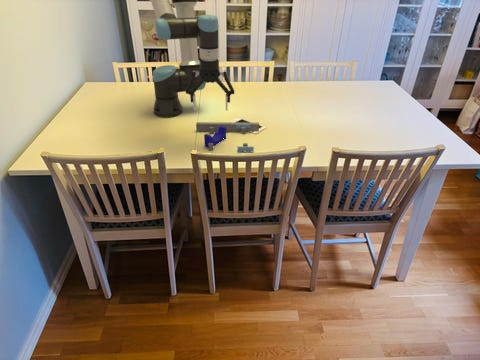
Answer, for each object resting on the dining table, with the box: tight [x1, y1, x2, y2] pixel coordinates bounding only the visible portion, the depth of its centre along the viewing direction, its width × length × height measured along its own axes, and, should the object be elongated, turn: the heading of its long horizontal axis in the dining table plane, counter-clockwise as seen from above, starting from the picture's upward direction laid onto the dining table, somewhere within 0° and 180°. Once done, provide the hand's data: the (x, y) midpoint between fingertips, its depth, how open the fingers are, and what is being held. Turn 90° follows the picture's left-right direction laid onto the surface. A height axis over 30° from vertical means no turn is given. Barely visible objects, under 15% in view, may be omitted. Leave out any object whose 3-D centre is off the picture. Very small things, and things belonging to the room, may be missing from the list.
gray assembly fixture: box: [195, 121, 260, 153], centre depth 153 cm, size 30×22×4 cm
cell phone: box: [229, 117, 267, 135], centre depth 168 cm, size 9×18×1 cm, turn 51°
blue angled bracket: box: [203, 126, 227, 149], centre depth 151 cm, size 12×4×6 cm, turn 145°
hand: (210, 109), depth 145 cm, fingers open, 13 cm apart
